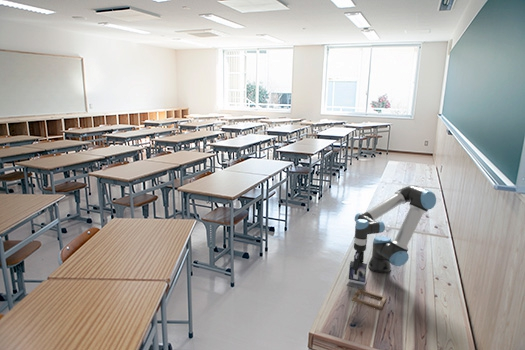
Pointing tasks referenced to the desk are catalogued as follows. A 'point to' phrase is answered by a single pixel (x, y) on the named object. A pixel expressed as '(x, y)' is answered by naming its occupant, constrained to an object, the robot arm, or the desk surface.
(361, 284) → the mat
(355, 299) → the wooden frame
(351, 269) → the small box
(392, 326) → the desk surface
